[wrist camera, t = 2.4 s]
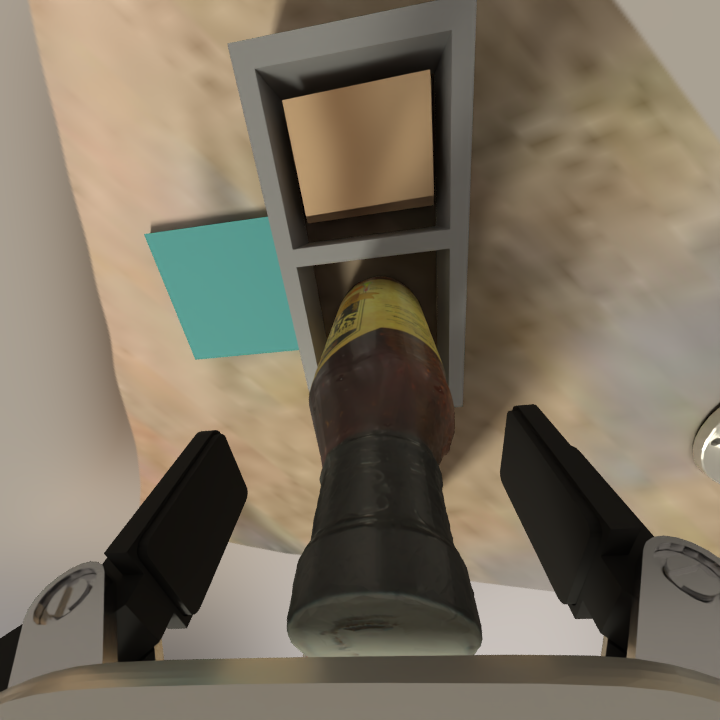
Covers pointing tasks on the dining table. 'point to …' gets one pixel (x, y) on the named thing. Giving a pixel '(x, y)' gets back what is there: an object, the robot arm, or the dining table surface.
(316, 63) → the rack
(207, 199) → the dining table surface
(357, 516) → the sauce bottle
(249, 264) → the mat
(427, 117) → the offcut upper
